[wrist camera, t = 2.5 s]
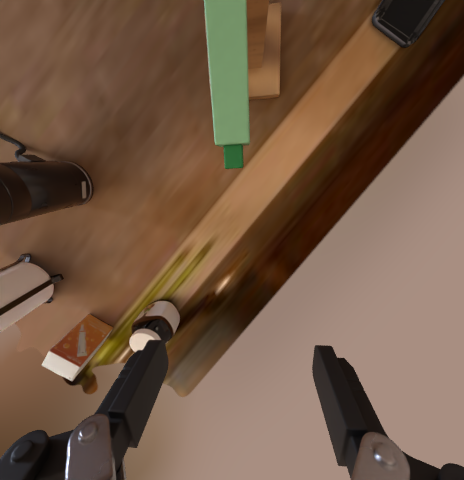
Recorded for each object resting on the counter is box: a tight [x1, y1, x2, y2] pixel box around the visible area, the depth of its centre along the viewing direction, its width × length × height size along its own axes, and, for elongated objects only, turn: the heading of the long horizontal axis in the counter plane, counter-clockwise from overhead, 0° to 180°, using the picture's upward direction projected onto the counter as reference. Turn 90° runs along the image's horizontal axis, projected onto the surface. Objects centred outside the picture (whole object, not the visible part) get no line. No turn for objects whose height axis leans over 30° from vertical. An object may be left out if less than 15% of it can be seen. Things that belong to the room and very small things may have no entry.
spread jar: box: [129, 300, 180, 352], centre depth 53 cm, size 12×11×12 cm
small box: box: [42, 314, 113, 381], centre depth 56 cm, size 8×6×13 cm
